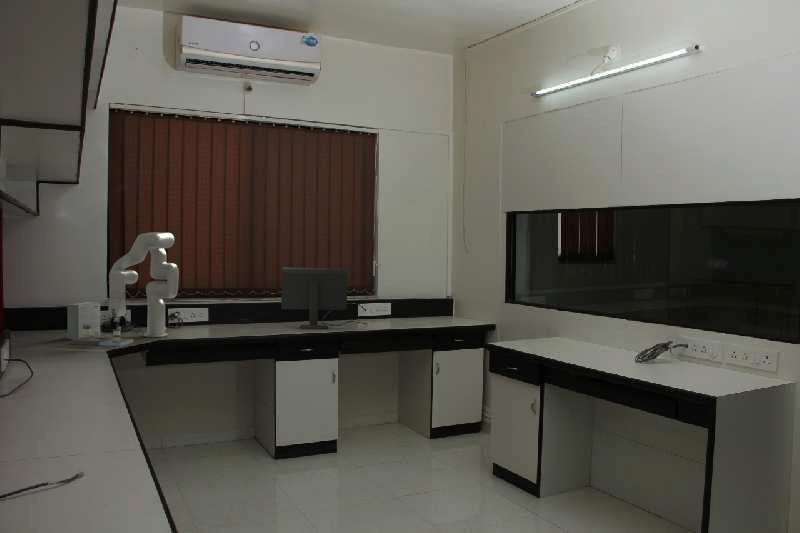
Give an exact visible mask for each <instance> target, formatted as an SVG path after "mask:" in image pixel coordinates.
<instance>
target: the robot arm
mask: <svg viewBox="0 0 800 533" xmlns="http://www.w3.org/2000/svg"><path fill="white" fill-rule="evenodd" d="M174 244H175V237H174V235H173V234H172V233H170V232H159V231H158V232H155V231H154V232H153V231H151V232H146V233H140V234H139V235H137V237H136V239H135V241H134V242H133V245H132V247H131V248H130V250H129V252H128V253H126V254H124V255H123V256H122V257H120V258H119V259H117V260H116V262H114V263H113V266H112V267H111V269H110V271H109V274H108V278H109V301H108V319H109V320H108V321H109V329H110V330H113V329H117V327H126V326H127V323H126V322H127V310H128V309H127V304H126V297H127V296H126V285H133V284H135V283H137V282H138V280H139V274H138V272H137V271H135V270H134V269H133V270H132V269H127V268H129V267H132V266H135V265H137V264H140V263H142V262H143V261H145V259H146V257H147V254H148V253H149V252H150V269H149V274H150V277H151V278H153V279H156V280H158V281H155V280H154V281H149V283H147V285H146V287H145V293H146V298H147V321H146V323H147V325H146V326H147V330H146V333H144V334H143V335H144V337H146V338H160V337H162V338H163V337H167V336H169V335H168V334H169V333H167V332H166V331H167V327H166V303H165V301H164V300H163V299H174V298H175V297H177V295H178V290H179V280H180V279H179V276H180V275H179V274H180V273H179V271H180V270H179V267H178V265H177V264H176V263H171V262H167V258H168V257H167V253H166V250H165V249H169V248H171V247H172V246H173V245H174ZM160 280H167V281H160ZM118 318H119V322H118V323H119V324H117V320H118ZM117 325H119V326H117Z"/></svg>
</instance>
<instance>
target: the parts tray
mask: <svg viewBox="0 0 800 533" xmlns="http://www.w3.org/2000/svg"><path fill="white" fill-rule="evenodd" d="M120 341H121V343H113V339H110V340H107V341H103V342H99V345H98V346H103V347H105V346H106V347H122V346H125V345H129V344H132V343H134V339H133V338H120Z"/></svg>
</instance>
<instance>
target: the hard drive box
mask: <svg viewBox="0 0 800 533" xmlns="http://www.w3.org/2000/svg"><path fill="white" fill-rule="evenodd" d="M83 325H91V330H90V335H97V336H101V302H94V301H86V302H78V303H68V304H67V340H74V339H78V338H82V337H83Z"/></svg>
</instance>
